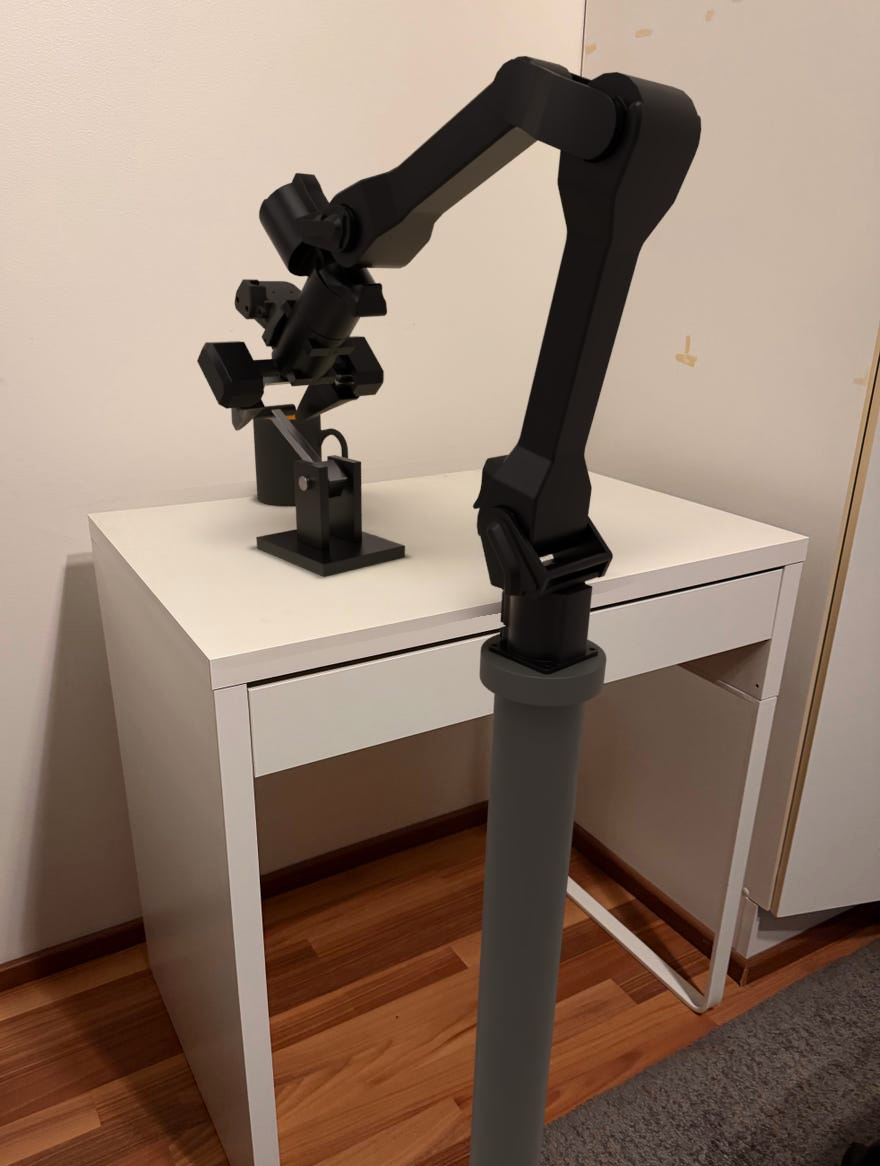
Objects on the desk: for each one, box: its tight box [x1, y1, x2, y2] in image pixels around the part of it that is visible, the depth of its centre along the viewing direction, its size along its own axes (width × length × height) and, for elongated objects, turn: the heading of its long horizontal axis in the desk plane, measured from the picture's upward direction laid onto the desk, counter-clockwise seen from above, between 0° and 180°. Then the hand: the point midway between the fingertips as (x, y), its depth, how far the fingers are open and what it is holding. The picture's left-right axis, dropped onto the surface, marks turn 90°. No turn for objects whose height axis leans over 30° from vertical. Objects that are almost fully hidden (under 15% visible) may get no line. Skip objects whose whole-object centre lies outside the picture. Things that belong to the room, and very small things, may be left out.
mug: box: [252, 414, 349, 507], centre depth 108 cm, size 8×12×10 cm
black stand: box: [255, 454, 406, 577], centre depth 87 cm, size 12×10×9 cm
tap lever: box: [252, 403, 347, 498], centre depth 88 cm, size 13×5×2 cm, turn 39°
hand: (267, 423), depth 92 cm, fingers open, 7 cm apart
